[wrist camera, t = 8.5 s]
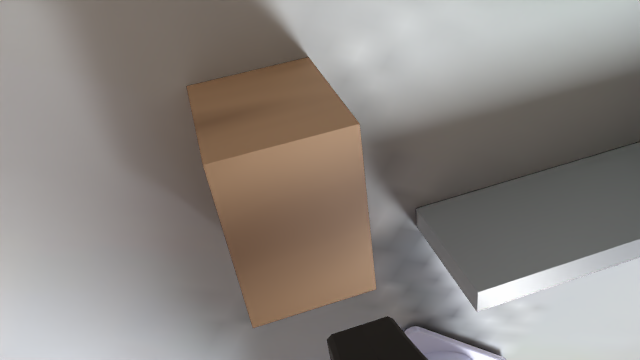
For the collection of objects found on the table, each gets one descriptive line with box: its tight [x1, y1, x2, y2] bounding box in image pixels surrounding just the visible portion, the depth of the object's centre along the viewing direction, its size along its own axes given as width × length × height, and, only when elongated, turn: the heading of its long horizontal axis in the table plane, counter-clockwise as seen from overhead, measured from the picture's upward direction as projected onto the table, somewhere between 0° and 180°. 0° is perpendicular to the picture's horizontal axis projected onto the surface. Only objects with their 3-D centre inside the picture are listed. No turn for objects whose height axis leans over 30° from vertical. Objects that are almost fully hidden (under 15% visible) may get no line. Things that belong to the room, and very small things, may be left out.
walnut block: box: [187, 57, 376, 328], centre depth 17 cm, size 6×4×5 cm, turn 8°
